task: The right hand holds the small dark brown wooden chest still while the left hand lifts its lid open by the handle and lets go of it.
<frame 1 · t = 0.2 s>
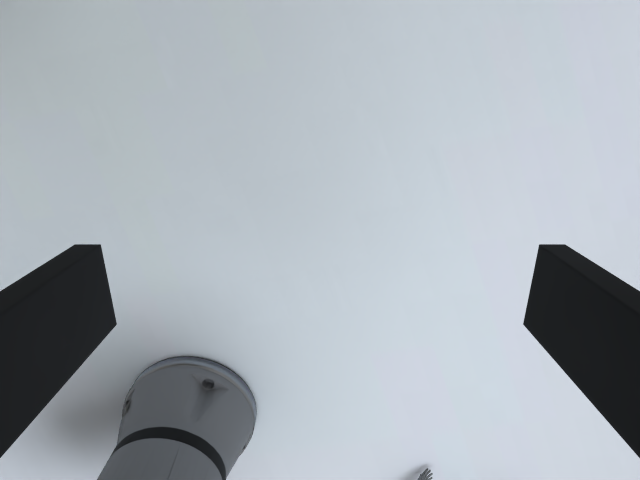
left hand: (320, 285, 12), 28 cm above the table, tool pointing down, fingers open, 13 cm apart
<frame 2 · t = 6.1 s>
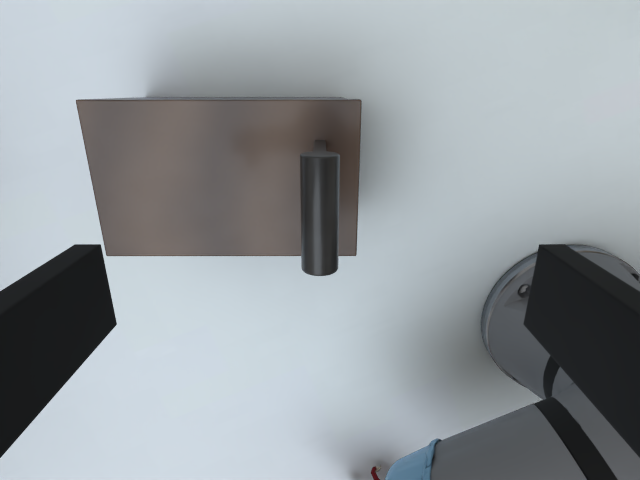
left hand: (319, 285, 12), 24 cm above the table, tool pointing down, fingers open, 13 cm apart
lid: (212, 196, 23), point 13 cm above the table, hinge at 0.0°
chest: (247, 158, 35), on the table
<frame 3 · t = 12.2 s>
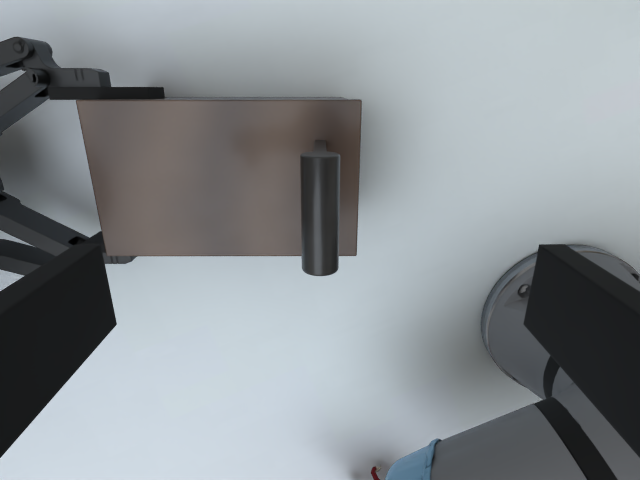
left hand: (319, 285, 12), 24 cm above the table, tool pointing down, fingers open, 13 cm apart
right hand: (167, 172, 29), fingers closed on chest, 10 cm apart
lid: (212, 196, 23), point 13 cm above the table, hinge at 0.0°
chest: (247, 158, 35), on the table, touching right hand
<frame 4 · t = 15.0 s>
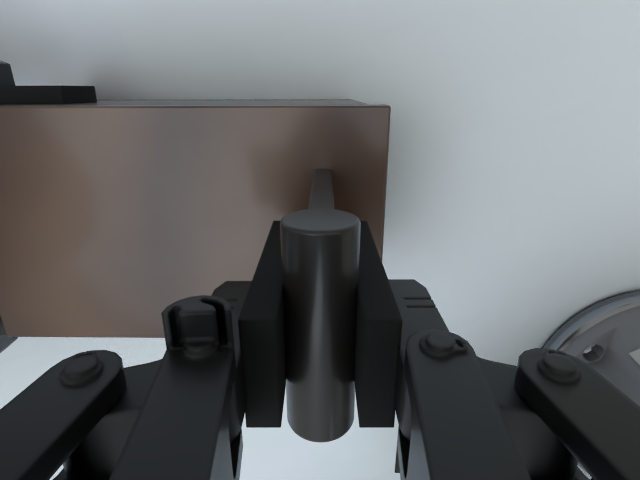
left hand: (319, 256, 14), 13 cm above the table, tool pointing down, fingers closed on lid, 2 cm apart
lid: (142, 268, 13), point 14 cm above the table, hinge at 1.1°, touching left hand
chest: (224, 181, 26), on the table, touching right hand
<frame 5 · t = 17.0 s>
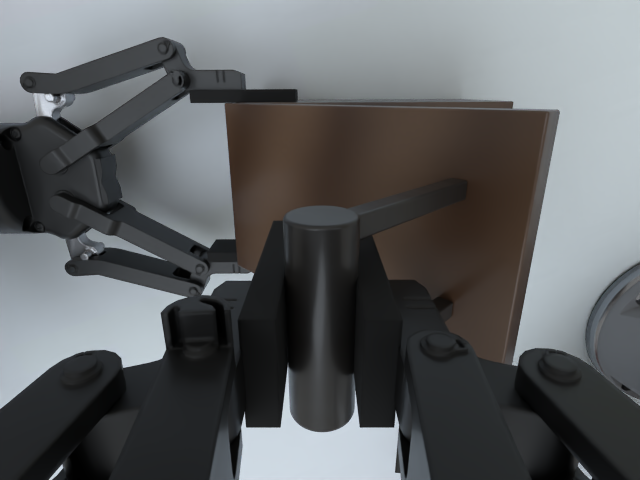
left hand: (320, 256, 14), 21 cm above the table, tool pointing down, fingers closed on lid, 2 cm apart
right hand: (298, 177, 28), fingers closed on chest, 10 cm apart
lid: (278, 235, 17), point 18 cm above the table, hinge at 43.7°, touching left hand
chest: (359, 163, 34), on the table, touching right hand
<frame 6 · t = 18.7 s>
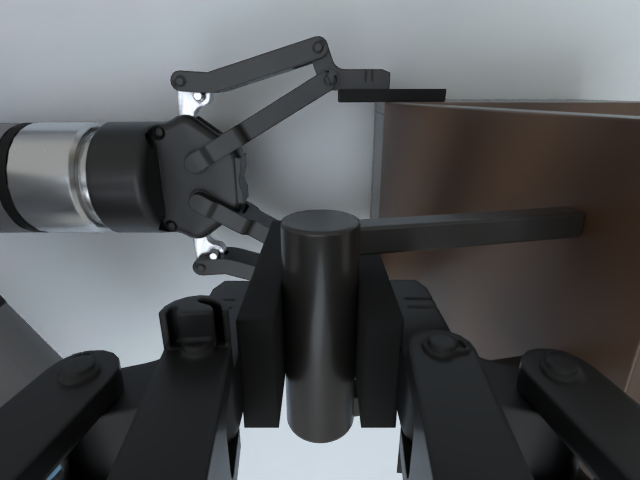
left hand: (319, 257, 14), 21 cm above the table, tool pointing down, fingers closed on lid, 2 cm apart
right hand: (431, 177, 28), fingers closed on chest, 10 cm apart
lid: (374, 238, 16), point 19 cm above the table, hinge at 76.6°, touching left hand
chest: (470, 163, 34), on the table, touching right hand
when the right hand's fingers open (6 cm above the table, at t = 22.6 s): chest stays where it is, on the table.
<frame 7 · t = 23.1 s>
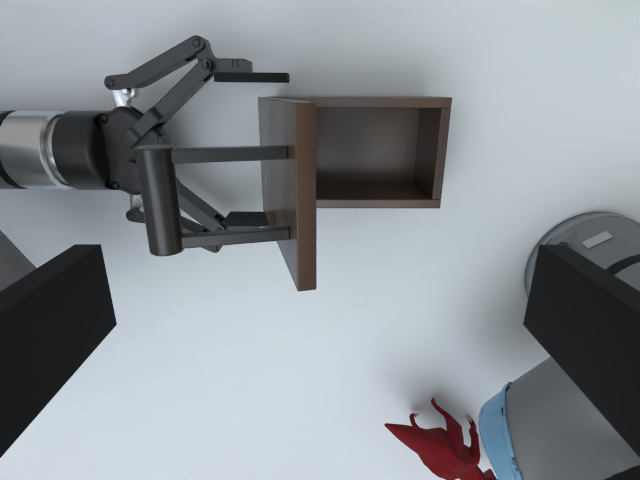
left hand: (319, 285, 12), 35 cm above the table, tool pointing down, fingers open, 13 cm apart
right hand: (290, 152, 40), fingers open, 13 cm apart
lid: (225, 176, 28), point 19 cm above the table, hinge at 76.0°
toy 2: (433, 412, 59), on the table
chest: (349, 143, 45), on the table
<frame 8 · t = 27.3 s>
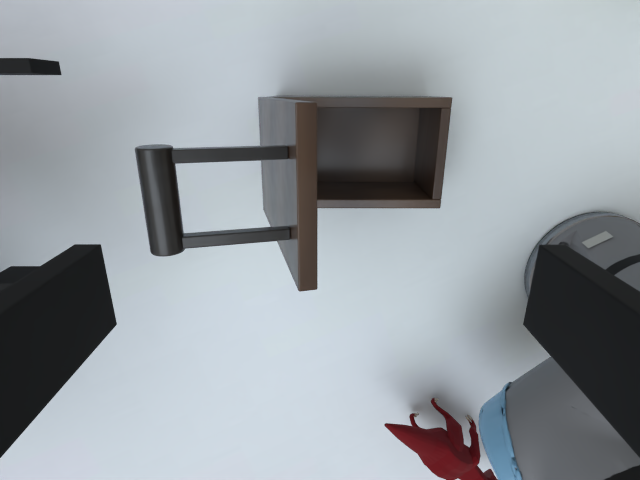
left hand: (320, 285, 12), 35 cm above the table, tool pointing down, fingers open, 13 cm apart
lid: (225, 176, 28), point 19 cm above the table, hinge at 76.0°
toy 2: (433, 412, 59), on the table
chest: (349, 143, 45), on the table
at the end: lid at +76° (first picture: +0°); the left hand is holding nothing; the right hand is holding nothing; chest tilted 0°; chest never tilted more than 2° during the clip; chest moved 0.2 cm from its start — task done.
